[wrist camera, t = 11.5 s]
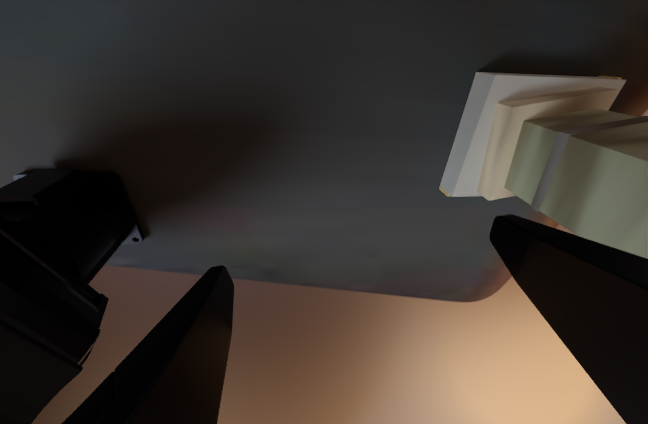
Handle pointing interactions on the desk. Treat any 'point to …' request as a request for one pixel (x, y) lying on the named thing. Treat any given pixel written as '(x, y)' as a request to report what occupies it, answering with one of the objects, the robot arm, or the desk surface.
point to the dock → (480, 113)
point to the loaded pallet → (573, 164)
